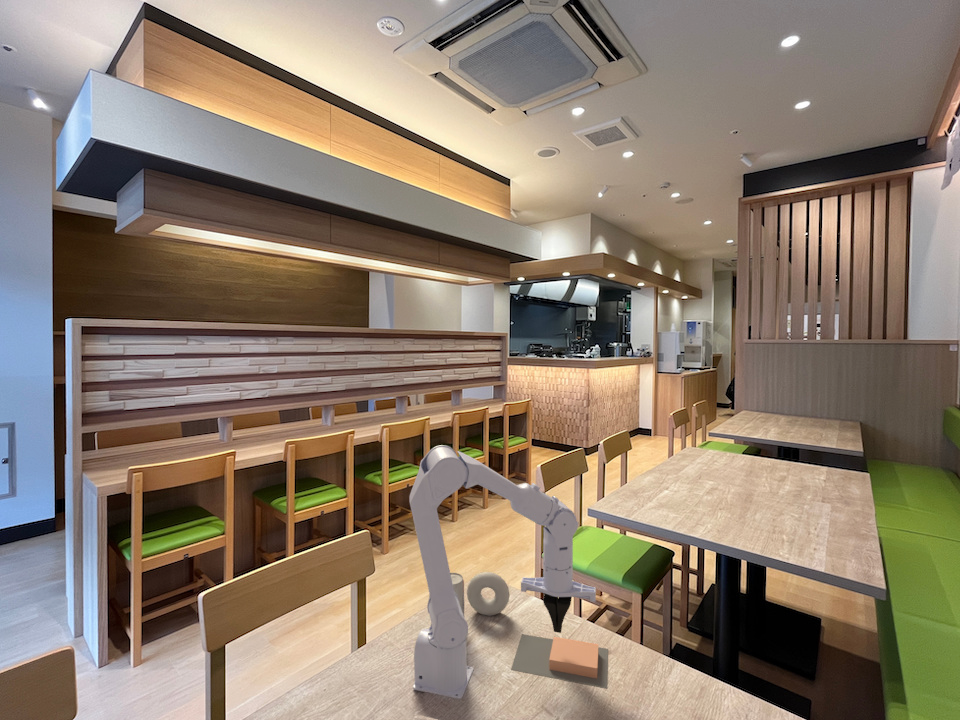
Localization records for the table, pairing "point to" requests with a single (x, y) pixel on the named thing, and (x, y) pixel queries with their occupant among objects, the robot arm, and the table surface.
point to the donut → (484, 604)
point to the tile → (574, 657)
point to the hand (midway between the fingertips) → (557, 629)
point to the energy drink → (458, 588)
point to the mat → (536, 661)
